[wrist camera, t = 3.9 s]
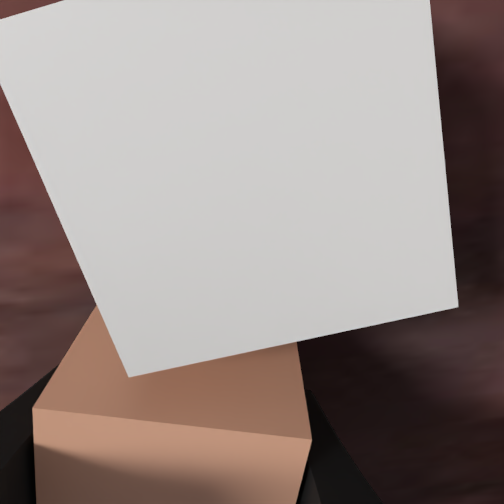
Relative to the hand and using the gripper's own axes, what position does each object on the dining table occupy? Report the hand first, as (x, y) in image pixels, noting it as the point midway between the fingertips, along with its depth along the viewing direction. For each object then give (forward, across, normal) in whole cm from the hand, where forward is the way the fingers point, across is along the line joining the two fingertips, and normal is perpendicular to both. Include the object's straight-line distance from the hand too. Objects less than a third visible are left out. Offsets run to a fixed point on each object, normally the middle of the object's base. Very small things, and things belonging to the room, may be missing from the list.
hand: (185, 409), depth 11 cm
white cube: (+2, -1, -6) cm, 7 cm away
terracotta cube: (+2, 0, 0) cm, 2 cm away
